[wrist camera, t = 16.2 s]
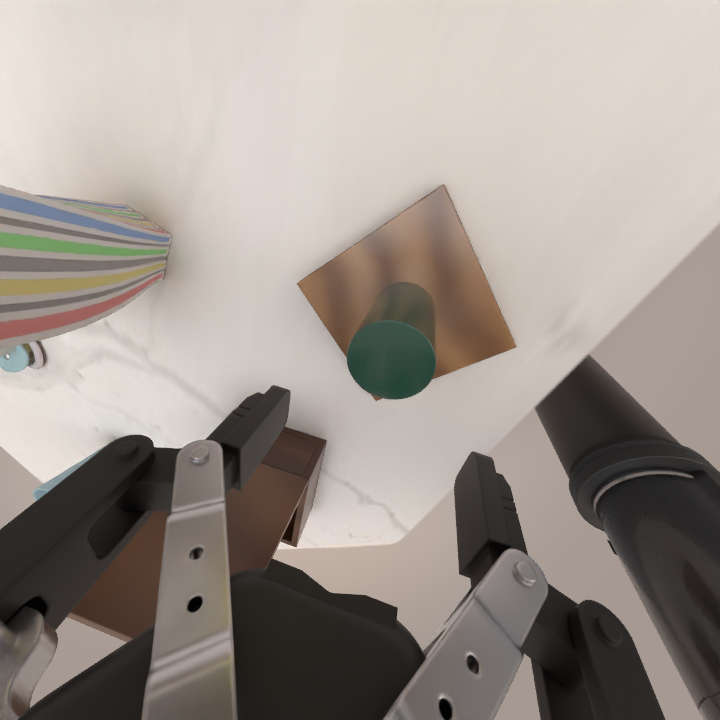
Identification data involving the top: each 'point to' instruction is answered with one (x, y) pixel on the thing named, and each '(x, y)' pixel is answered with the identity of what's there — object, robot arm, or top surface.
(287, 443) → the brown wooden box
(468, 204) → the top surface
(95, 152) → the top surface
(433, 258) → the plate
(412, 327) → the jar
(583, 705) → the robot arm
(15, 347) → the pacifier
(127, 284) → the vase
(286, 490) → the lid
